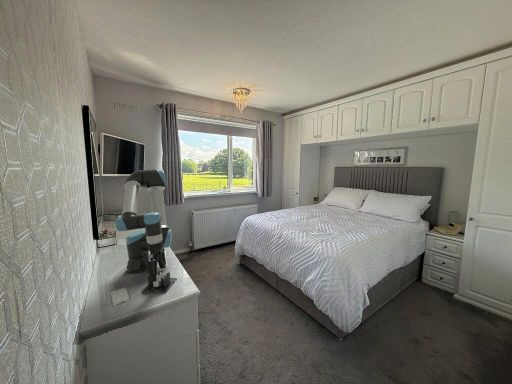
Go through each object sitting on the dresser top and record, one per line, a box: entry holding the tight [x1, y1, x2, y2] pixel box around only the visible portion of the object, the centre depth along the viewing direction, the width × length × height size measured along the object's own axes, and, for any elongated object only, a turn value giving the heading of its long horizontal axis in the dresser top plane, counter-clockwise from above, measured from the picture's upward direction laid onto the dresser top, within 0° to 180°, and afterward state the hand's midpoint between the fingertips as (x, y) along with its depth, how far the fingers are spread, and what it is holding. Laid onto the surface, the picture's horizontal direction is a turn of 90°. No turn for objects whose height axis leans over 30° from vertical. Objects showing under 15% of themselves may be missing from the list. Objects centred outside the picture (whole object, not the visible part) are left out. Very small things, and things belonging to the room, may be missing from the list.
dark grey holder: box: [141, 272, 178, 294], centre depth 116 cm, size 13×13×6 cm
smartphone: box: [110, 287, 131, 307], centre depth 108 cm, size 7×1×15 cm
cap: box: [157, 270, 166, 287], centre depth 115 cm, size 6×6×6 cm
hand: (159, 282), depth 115 cm, fingers closed on cap, 6 cm apart
